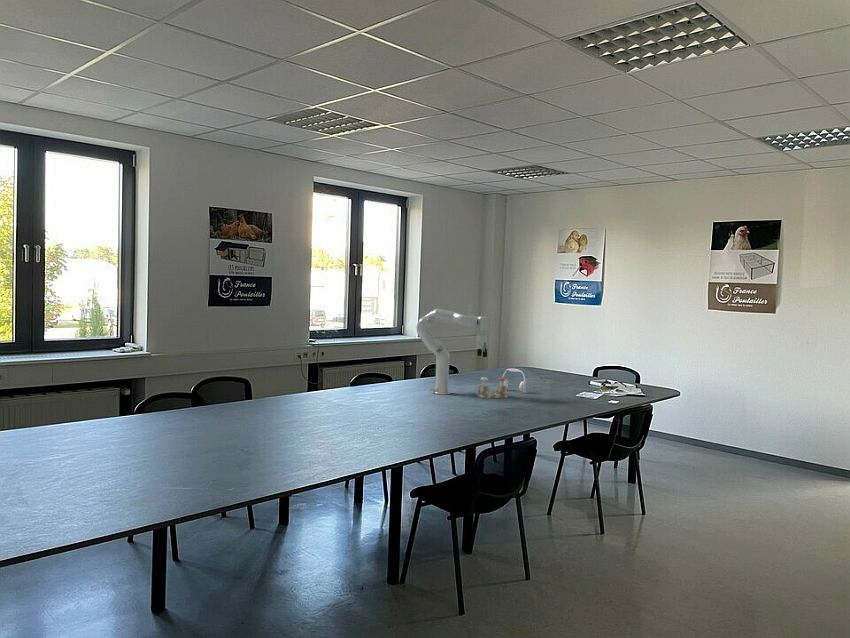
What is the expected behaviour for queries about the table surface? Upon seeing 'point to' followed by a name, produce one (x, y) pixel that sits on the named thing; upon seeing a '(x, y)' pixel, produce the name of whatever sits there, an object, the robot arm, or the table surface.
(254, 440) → the table surface
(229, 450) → the table surface
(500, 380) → the terracotta plug
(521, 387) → the headset
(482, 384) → the plug
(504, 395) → the block
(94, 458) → the table surface
